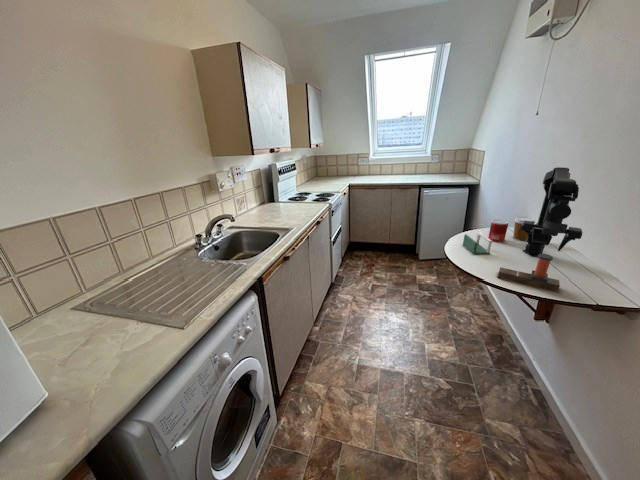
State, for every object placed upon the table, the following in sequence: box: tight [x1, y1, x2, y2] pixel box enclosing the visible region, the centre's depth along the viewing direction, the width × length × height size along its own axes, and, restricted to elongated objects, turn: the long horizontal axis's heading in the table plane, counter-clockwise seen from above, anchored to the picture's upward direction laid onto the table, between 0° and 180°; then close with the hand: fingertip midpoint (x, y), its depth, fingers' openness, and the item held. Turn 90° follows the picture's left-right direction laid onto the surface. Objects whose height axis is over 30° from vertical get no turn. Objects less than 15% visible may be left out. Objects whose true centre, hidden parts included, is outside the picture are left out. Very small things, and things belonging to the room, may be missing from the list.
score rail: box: [497, 267, 561, 293], centre depth 111 cm, size 20×5×3 cm, turn 53°
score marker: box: [530, 253, 554, 283], centre depth 106 cm, size 5×6×10 cm
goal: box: [462, 231, 493, 255], centre depth 141 cm, size 8×12×8 cm, turn 178°
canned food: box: [487, 219, 509, 243], centre depth 151 cm, size 8×8×11 cm
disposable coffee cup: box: [513, 216, 536, 241], centre depth 151 cm, size 10×10×12 cm
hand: (544, 248), depth 111 cm, fingers open, 9 cm apart
